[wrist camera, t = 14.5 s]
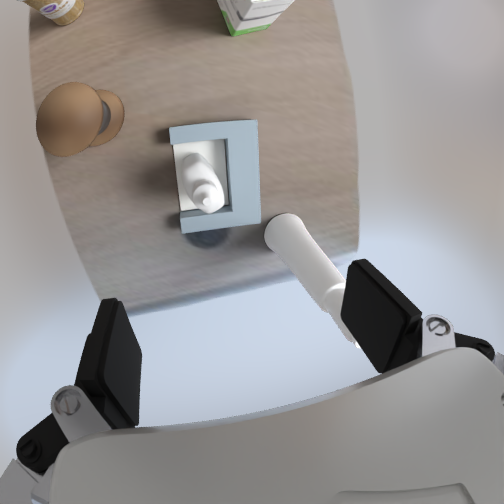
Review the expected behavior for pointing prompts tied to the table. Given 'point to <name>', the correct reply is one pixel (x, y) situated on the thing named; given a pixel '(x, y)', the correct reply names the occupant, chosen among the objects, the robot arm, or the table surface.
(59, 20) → the sprinkles bottle
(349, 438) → the robot arm
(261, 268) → the table surface
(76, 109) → the spool
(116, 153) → the table surface
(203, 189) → the eye dropper bottle
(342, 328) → the cosmetic bottle
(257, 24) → the ink box
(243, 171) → the notched board
